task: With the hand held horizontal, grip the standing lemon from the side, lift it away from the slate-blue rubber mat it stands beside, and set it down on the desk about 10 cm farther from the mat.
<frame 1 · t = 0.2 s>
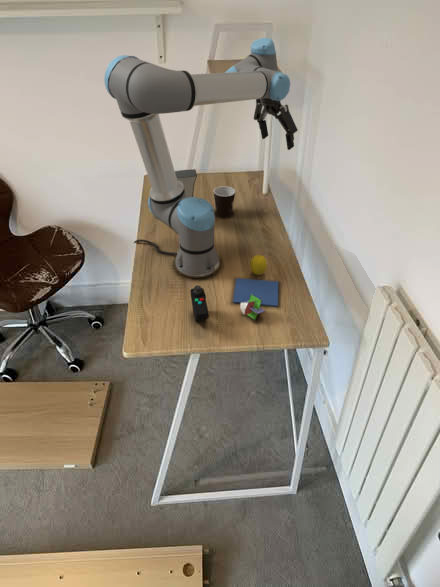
hand: (277, 142, 164), 28 cm above the table, tool tilted 20°, fingers open, 13 cm apart
blue mat: (256, 292, 140), on the table
controller: (200, 320, 130), on the table
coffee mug: (226, 212, 179), on the table
geometric puzzle: (252, 315, 132), on the table
lemon: (257, 275, 147), on the table
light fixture: (184, 221, 174), on the table
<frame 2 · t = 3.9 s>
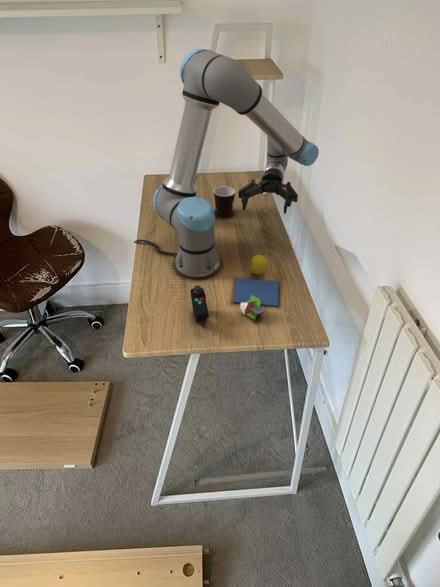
hand: (264, 208, 142), 20 cm above the table, tool horizontal, fingers open, 13 cm apart
nothing on the table moved.
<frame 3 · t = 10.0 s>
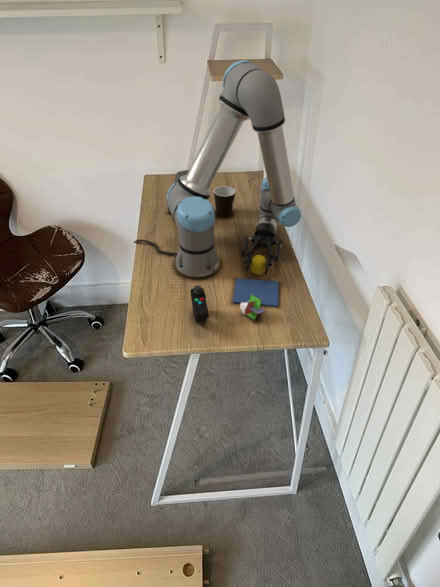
hand: (256, 269, 139), 6 cm above the table, tool horizontal, fingers closed on lemon, 5 cm apart
lemon: (257, 275, 147), on the table, touching gripper
when the fingers open (6 cm above the table, at t = 17.3 s): lemon stays where it is, on the table.
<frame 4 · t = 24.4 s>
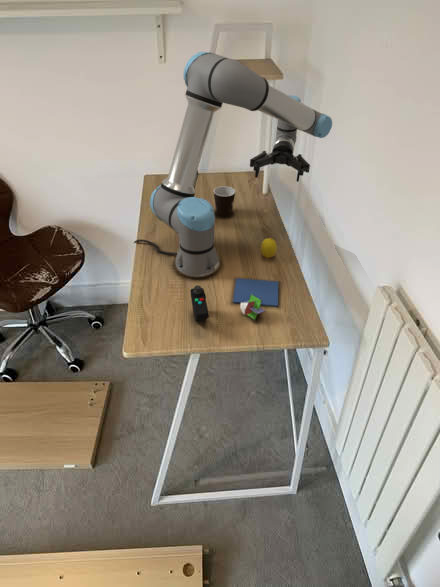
hand: (277, 175, 142), 28 cm above the table, tool horizontal, fingers open, 13 cm apart
lemon: (267, 257, 155), on the table
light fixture: (185, 221, 173), on the table, touching arm
everything else where it was.
at the end: lemon inside the target area (1.0 cm from its centre), on the table; lemon touching table; the gripper is holding nothing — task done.
